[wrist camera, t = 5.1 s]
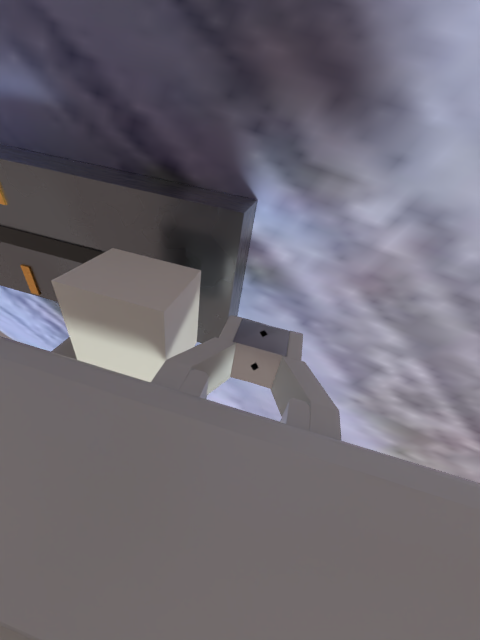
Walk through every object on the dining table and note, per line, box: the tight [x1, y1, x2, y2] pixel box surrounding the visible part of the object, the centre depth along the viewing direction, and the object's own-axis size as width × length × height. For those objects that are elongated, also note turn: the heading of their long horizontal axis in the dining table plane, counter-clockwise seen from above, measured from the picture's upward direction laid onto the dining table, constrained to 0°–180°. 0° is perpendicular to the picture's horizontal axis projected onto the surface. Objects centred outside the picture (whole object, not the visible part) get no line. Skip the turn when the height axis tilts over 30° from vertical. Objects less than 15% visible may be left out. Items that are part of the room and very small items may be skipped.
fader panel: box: [0, 144, 257, 343], centre depth 16 cm, size 8×22×3 cm, turn 81°
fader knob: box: [51, 248, 201, 382], centre depth 11 cm, size 4×4×5 cm
